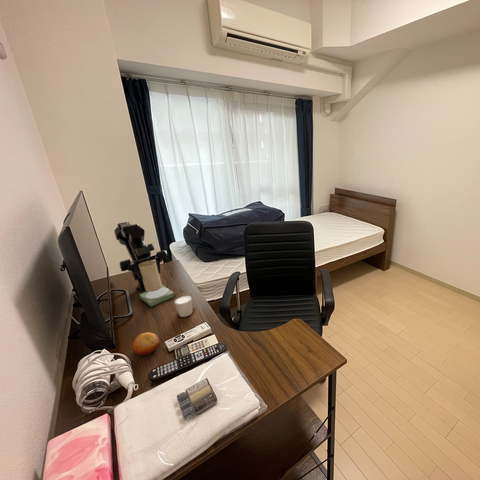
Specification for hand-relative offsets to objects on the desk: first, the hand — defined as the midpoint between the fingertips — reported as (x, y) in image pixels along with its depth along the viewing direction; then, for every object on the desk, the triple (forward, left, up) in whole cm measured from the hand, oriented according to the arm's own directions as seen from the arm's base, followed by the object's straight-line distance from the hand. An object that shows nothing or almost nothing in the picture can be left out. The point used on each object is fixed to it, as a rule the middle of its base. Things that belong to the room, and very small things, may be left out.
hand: (151, 275), depth 118 cm
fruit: (+30, -16, -15) cm, 37 cm away
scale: (-5, +2, -15) cm, 16 cm away
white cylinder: (+19, +4, -15) cm, 24 cm away
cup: (-1, 0, -7) cm, 7 cm away
